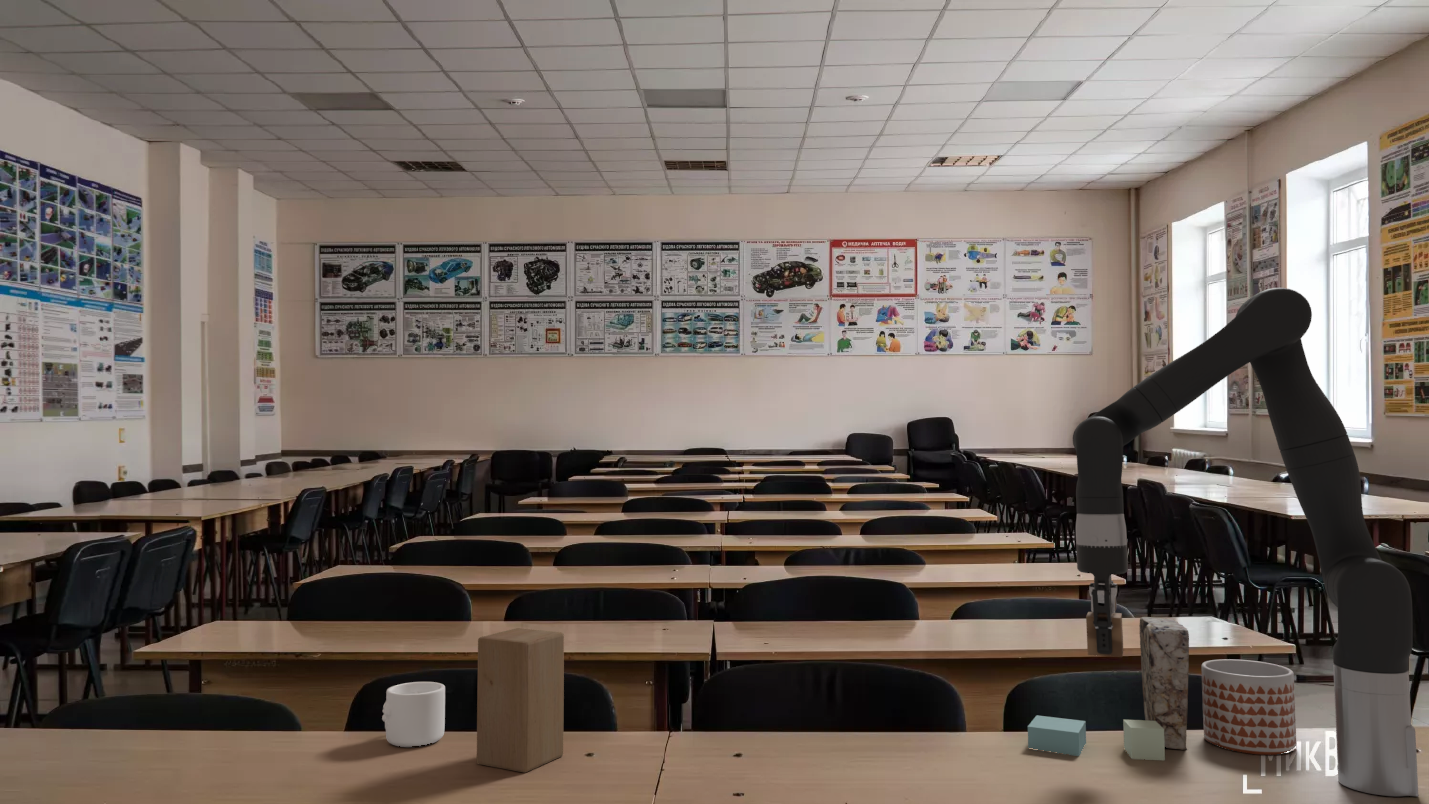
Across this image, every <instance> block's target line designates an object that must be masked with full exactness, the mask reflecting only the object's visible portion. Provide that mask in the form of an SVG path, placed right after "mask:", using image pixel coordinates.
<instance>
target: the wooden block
mask: <svg viewBox="0 0 1429 804" xmlns="http://www.w3.org/2000/svg"><path fill="white" fill-rule="evenodd" d="M564 644H565V635H564V633H563V632H560V631H550V630H541V629H532V628H531V629H530V628H520V627H517V628H516V627H515V628H513V629H509V630H505V631H500V632H496V633H491V634H488V635H484V636H480V637H479V638H478V639H477V687H476V688H477V692H476V693H477V696H476V697H477V698H476V699H477V704H476V706H477V707H476V710H477V712H476V764H478V765H481V766H482V765H483V766H488V767H492V768H497V769H503V770H509V771H514V772H520V773H524V774H525V773H528V772H529V771H532V770H534V769H537V768H539V767H541V766H544V765H545V764H547V763H550V762H552V761H554V760H556V759H559V758H561V757H563V756H564V699H565V696H564V695H565V694H564V692H565V690H564V686H565V685H564V684H565V683H564V682H565V681H564V680H565V677H564V675H565V673H564V671H565V666H564V665H565V661H564V660H565V657H564V656H565V645H564Z"/></svg>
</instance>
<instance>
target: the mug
mask: <svg viewBox="0 0 1429 804" xmlns="http://www.w3.org/2000/svg"><path fill="white" fill-rule="evenodd" d="M385 693H386V697H385V698H386V700H385V702H384V704H383V707H382V713H383V715H382V716H381V717H382V718H381V720H382V721H383V722H384V729H385V739H386V740H387V742H388V743H389V744H390V745H393V746H395V747H399V746H400V748H413V747H412V746H419V747H422V746H421V745H425V746H428V745H427V744H429V745H431V744H430V743H432V744H434V743H436V742H438V741H440V740H441V739H442V738H443V737H444V734H445V726H446V725H445V724H446V719H445V718H446V686H445V685H444V684H443V683H440V682H436V681H435V682H434V681H413V682H412V681H411V682H405V683H400V684H399V683H398V684H397V685H392V686H390V687H388V688H387V689H386V692H385Z"/></svg>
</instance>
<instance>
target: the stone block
mask: <svg viewBox="0 0 1429 804" xmlns="http://www.w3.org/2000/svg"><path fill="white" fill-rule="evenodd" d="M1139 646H1140V647H1139V648H1140V663H1141V665H1140V666H1141V680H1142V696H1143V710H1144V713H1143V714H1144V719H1145V720H1148V721H1156V722H1157V723H1158V724H1159V725H1160V726H1161V727H1162V728H1163V729H1164V745H1165V747H1166V748H1167V749H1174V750H1182V751H1184V750H1187V736H1188V735H1187V730H1188V729H1187V728H1188V727H1187V726H1188V725H1187V724H1188V705H1189V704H1188V703H1189V701H1188V699H1189V698H1188V696H1189V664H1190V663H1189V656H1190V634H1189V630H1188V628H1186V627H1185V626H1184V625H1183V624H1180V623H1179V622H1178V621H1176V620H1174V619H1170V618H1162V617H1150V616H1142V617H1140V618H1139Z"/></svg>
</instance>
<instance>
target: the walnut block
mask: <svg viewBox="0 0 1429 804" xmlns="http://www.w3.org/2000/svg"><path fill="white" fill-rule="evenodd" d="M1122 614H1123V613H1122V612H1121V613H1120V612H1115V614H1114V615H1113V616H1112V624H1113V628H1112V653H1111V654H1100V653H1098V652H1097V638H1096V629H1095V627H1094V624H1093V621H1094V614H1093V613H1092V611H1088V612H1087V614H1086V616H1085V623H1086V624H1085V625H1086V644H1087V645H1086V646H1087V656H1093V657H1094V656H1095V657H1096V656H1098V657H1113V658H1123V656H1124V636H1123V635H1124V634H1123V633H1124V632H1123V631H1124V630H1123V615H1122ZM1098 619H1107V615H1099V616H1098Z"/></svg>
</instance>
